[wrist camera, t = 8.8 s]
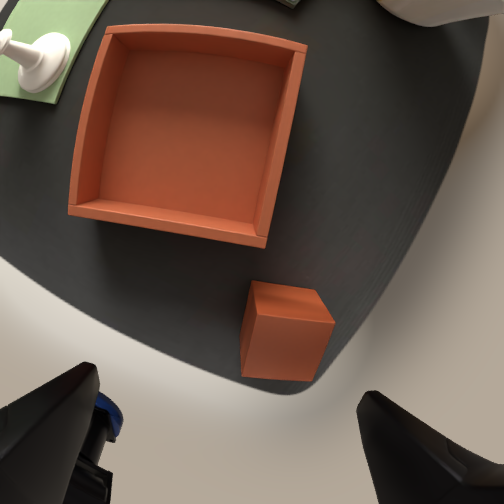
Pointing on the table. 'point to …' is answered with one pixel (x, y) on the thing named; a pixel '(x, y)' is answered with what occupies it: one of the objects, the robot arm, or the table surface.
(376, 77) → the table surface
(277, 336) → the terracotta block
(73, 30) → the sage mat
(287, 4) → the smartphone
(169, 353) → the table surface
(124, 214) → the terracotta bin
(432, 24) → the mug
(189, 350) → the table surface
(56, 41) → the chess piece
